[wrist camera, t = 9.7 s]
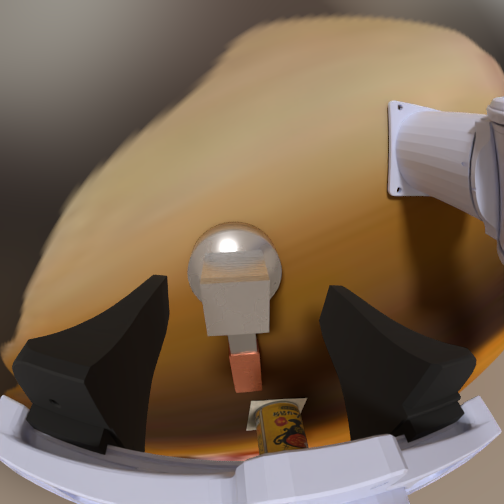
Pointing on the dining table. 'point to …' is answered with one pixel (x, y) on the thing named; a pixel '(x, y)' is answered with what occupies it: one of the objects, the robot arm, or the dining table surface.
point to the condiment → (278, 424)
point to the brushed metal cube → (235, 293)
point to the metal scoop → (252, 238)
